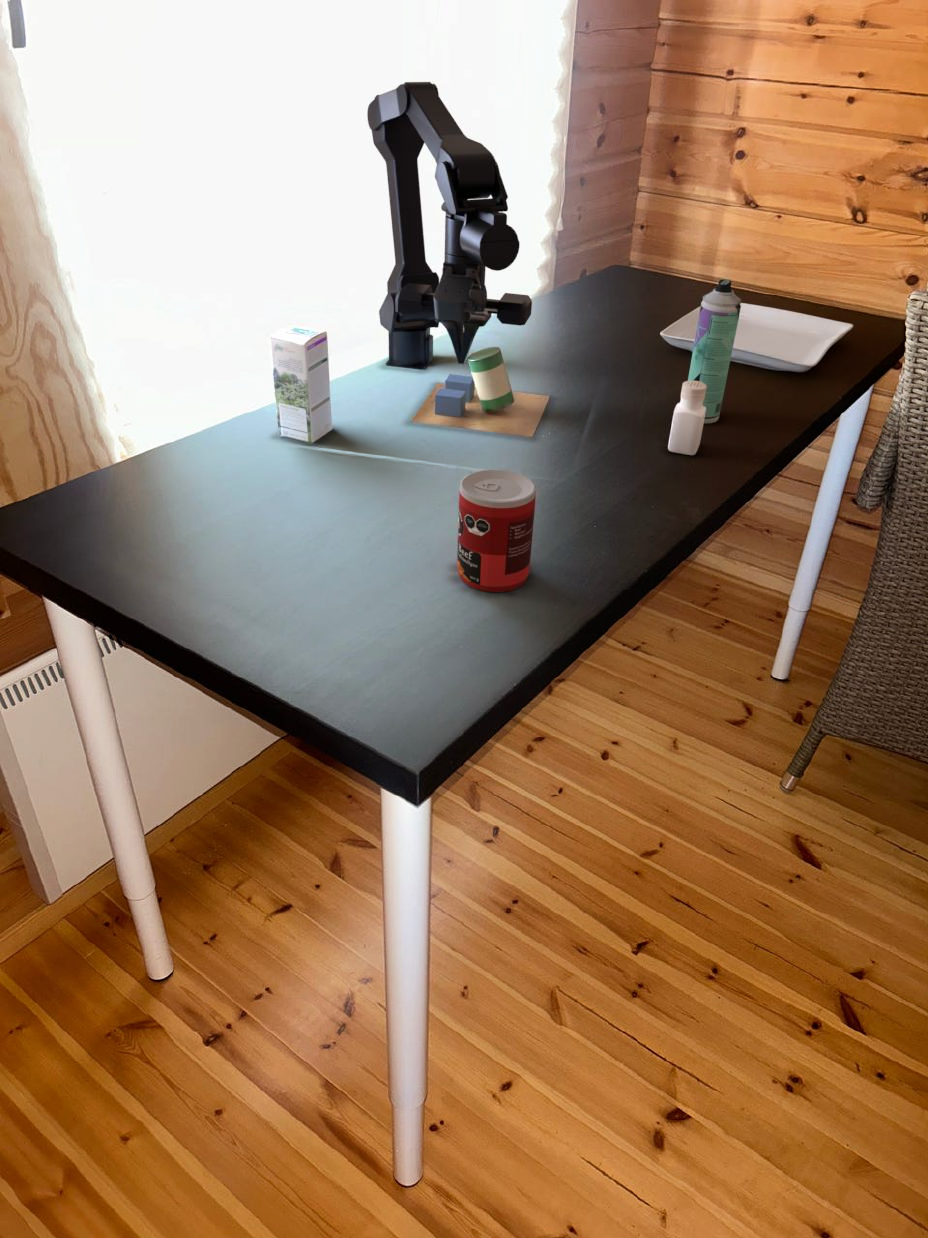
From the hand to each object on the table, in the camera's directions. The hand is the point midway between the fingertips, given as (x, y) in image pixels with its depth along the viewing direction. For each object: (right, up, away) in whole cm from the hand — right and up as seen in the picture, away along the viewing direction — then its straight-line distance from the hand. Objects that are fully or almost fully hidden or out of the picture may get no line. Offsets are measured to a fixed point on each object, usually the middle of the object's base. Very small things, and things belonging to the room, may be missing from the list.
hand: (461, 363), depth 139 cm
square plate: (+53, +11, +32) cm, 62 cm away
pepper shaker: (+31, -14, -6) cm, 34 cm away
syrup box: (-22, -12, -6) cm, 25 cm away
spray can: (+36, -7, +5) cm, 37 cm away
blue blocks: (-1, -5, +4) cm, 7 cm away
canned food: (+3, -33, -34) cm, 48 cm away
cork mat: (+3, -6, +3) cm, 8 cm away
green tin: (+2, -5, +3) cm, 7 cm away
